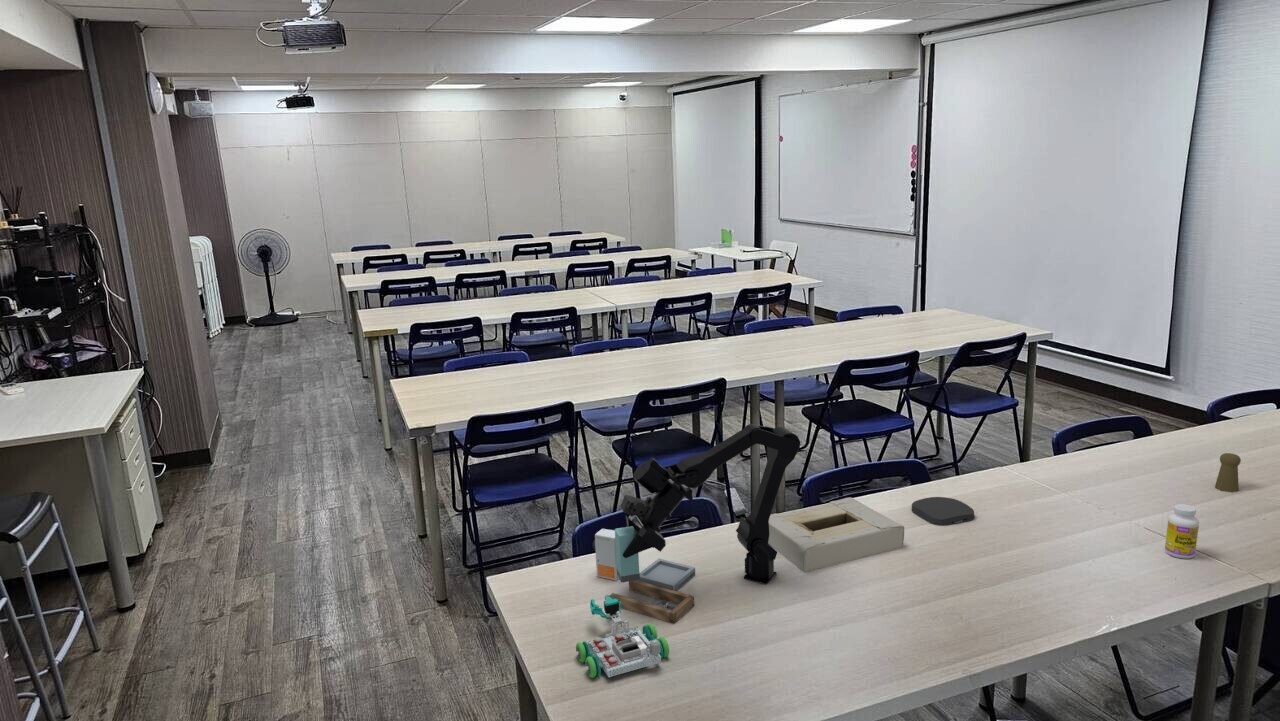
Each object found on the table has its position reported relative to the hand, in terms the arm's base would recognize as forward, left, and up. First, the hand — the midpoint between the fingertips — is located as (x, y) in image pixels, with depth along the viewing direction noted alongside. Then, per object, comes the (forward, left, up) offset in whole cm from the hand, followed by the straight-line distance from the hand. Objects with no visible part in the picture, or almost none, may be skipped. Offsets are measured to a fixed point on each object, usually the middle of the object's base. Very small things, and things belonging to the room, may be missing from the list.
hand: (621, 552), depth 202 cm
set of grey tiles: (-11, -1, -12) cm, 17 cm away
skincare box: (+10, -9, -13) cm, 18 cm away
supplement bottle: (-113, -90, -13) cm, 145 cm away
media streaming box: (-54, -88, -13) cm, 104 cm away
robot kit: (-10, +18, -13) cm, 25 cm away
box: (-32, -54, -13) cm, 64 cm away
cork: (-124, -147, -13) cm, 192 cm away
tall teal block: (-1, -1, -7) cm, 7 cm away
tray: (-3, -14, -12) cm, 19 cm away
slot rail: (-7, -1, -12) cm, 14 cm away
